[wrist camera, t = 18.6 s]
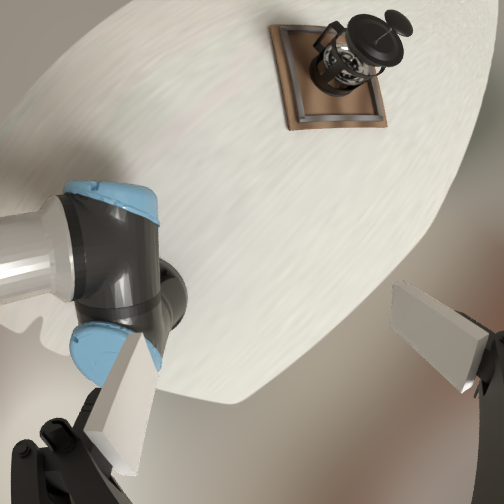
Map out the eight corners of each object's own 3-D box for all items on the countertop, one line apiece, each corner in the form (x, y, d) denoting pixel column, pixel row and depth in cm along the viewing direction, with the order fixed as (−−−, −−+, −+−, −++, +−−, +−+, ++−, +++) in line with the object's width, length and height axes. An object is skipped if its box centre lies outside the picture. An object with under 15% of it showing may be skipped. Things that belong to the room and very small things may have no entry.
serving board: (289, 130, 46) (292, 128, 44) (269, 27, 40) (271, 21, 38) (384, 127, 47) (390, 125, 45) (361, 33, 42) (366, 29, 40)
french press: (366, 85, 44) (443, 46, 22) (335, 108, 45) (410, 69, 22) (326, 40, 41) (384, -22, 19) (292, 61, 42) (341, -8, 19)
